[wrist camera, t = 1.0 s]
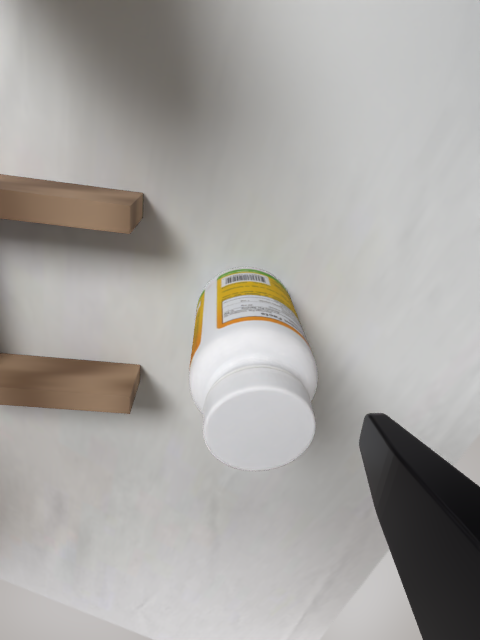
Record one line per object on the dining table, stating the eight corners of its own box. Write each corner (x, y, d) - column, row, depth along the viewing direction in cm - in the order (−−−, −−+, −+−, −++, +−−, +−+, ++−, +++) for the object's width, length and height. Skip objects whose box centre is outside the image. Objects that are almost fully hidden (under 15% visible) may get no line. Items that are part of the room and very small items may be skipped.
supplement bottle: (240, 363, 23) (252, 505, 15) (177, 307, 21) (149, 433, 13) (309, 310, 22) (367, 433, 13) (247, 244, 20) (269, 339, 11)
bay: (143, 193, 18) (130, 205, 16) (139, 380, 24) (129, 413, 21) (-88, 162, 17) (-144, 170, 15) (-38, 366, 23) (-72, 399, 20)
